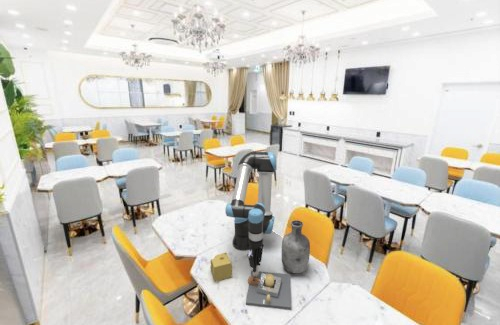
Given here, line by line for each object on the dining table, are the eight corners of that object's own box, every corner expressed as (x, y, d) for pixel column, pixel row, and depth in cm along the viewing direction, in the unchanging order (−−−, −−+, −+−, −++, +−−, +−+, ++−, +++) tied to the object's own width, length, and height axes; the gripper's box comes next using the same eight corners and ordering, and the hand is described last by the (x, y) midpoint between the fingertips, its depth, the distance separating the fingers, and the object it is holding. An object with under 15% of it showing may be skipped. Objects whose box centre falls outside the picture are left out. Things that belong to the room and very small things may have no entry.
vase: (275, 267, 139) (276, 222, 131) (292, 255, 149) (294, 213, 141) (296, 282, 128) (299, 234, 120) (313, 269, 137) (317, 223, 130)
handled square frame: (281, 281, 126) (281, 277, 125) (277, 297, 116) (277, 293, 115) (251, 274, 131) (251, 271, 130) (245, 289, 121) (245, 285, 120)
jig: (251, 272, 135) (251, 261, 133) (289, 276, 132) (290, 264, 130) (245, 304, 114) (245, 291, 112) (291, 309, 111) (291, 296, 109)
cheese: (210, 270, 137) (209, 255, 135) (228, 265, 141) (227, 251, 138) (214, 283, 128) (213, 267, 125) (233, 277, 132) (232, 262, 129)
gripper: (256, 230, 130) (256, 266, 136) (242, 241, 120) (243, 279, 126) (268, 234, 126) (267, 271, 132) (254, 246, 115) (254, 285, 122)
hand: (255, 275), depth 129 cm, fingers closed
